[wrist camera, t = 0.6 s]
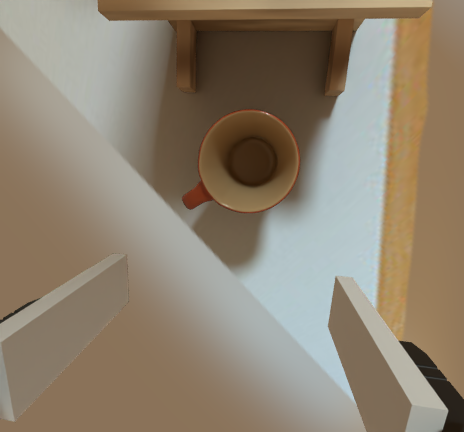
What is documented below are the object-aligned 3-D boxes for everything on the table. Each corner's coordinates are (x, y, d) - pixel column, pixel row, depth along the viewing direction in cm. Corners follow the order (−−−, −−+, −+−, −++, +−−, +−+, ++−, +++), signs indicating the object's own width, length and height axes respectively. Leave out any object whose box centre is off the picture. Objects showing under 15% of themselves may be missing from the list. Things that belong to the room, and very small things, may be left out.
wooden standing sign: (175, 16, 29) (90, -117, 15) (358, 14, 27) (461, -144, 13) (175, 91, 31) (99, 37, 17) (347, 96, 29) (425, 37, 15)
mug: (266, 109, 30) (265, 86, 20) (302, 173, 31) (319, 180, 21) (184, 164, 33) (150, 167, 23) (221, 221, 34) (202, 247, 24)
